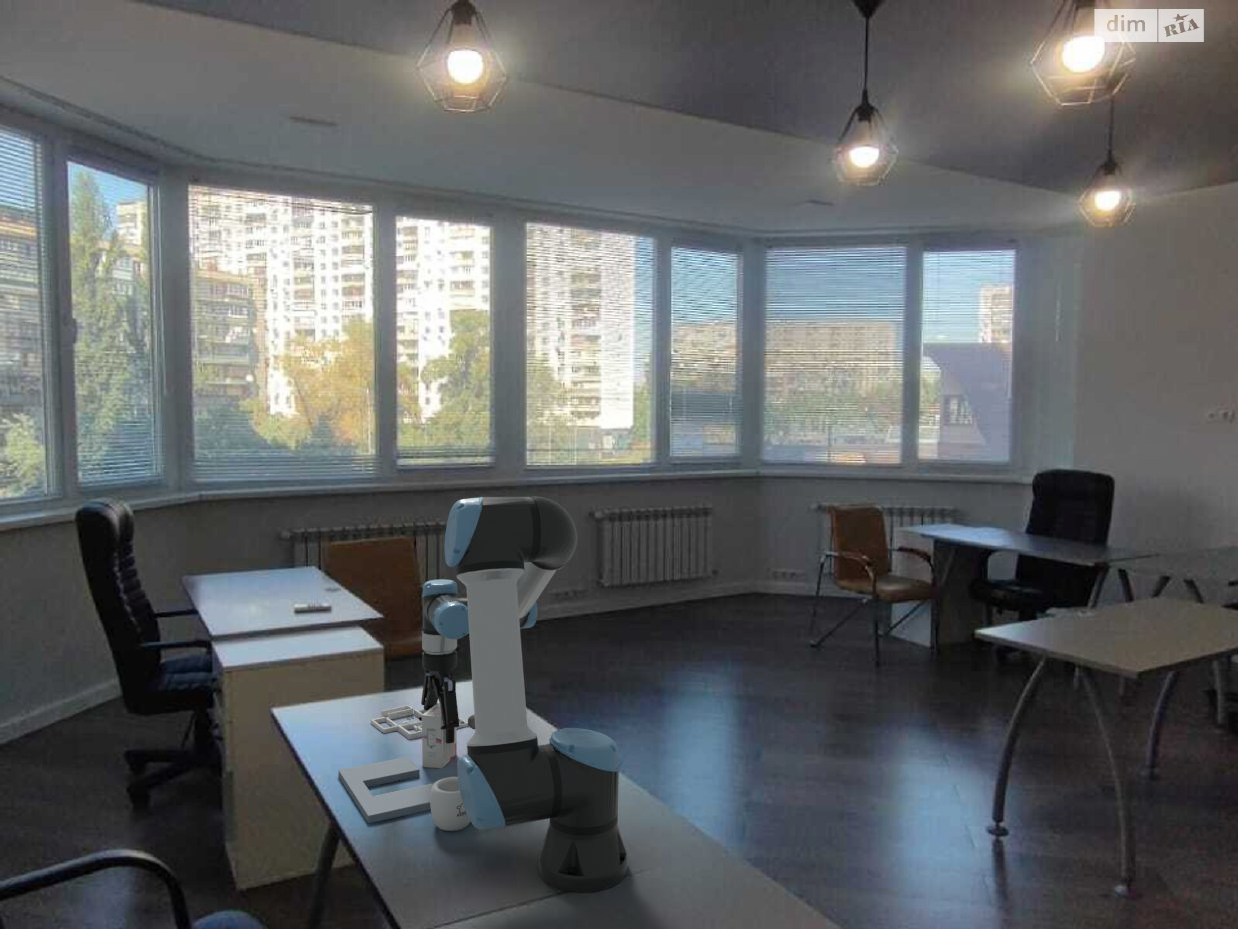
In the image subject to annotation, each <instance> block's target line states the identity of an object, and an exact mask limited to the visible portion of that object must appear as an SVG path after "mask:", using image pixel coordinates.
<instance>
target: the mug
mask: <svg viewBox="0 0 1238 929" xmlns="http://www.w3.org/2000/svg"><path fill="white" fill-rule="evenodd" d="M430 807H431V809H430V812H431V816H432V820H433V823H434V824H435V826H437V828H438V829H440V830H442V831H447V832H453V831H454V832H455V831H459V830H460V831H461V830H462V829H464V828H467V827H468V826H469V824H470V823H471V821H470V820H469V818H468V816H467V813H466V811H465V808H464V805H463V801H462V797H461V793H460V788H459V782H458V776H449V777H444V778H441V779H438V780H437V781H435V782H434V783H433V787H432V789H431V795H430Z"/></svg>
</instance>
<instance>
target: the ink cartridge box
mask: <svg viewBox="0 0 1238 929" xmlns="http://www.w3.org/2000/svg"><path fill="white" fill-rule="evenodd" d="M440 707H441V703H439V702H437V704H435V705H434V706H433V707H432V708H430V709H429V710H428V711H427V712H424V713H422V714H423V715H422V720H421V721H422V737H421V740H422V741H421V742H422V743H421V746H422V749H421V751H422V752H421V753H422V760H421V761H422V762H421V764H422V768H430V769H431V768H432V769H443V768H444V767H445V766H447V764H448V763H449V762H450V761H451V760H452V759H454V757H455V756H456V755H457V754H458V752H457V751H458V750H457V742H458V741H457V739H458V738H457V730H458V729H457V727H455V756H451V757H446V758H442V730H441V727H442V726H444V725H443V720H442V714H441V709H440Z"/></svg>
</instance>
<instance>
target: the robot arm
mask: <svg viewBox="0 0 1238 929" xmlns="http://www.w3.org/2000/svg"><path fill="white" fill-rule="evenodd" d="M577 544H578V533H577V527H576V525H575V522H574V520H573V518H572V517H571V516H570V514H569V512H568V511H567V510H566V509H565V508H564V507H563V506H561V505H560V504H559V503H557V501H554V500H552V499H549V498H547V497H543V496H538V495H537V496H478V497H471V498H463V499H459V500H457V501H456V502H455V503H454V504H453V505H452V507H451V509H450V512H449V514H448V517H447V523H446V529H445V535H444V556H445V557H444V559H445V564H446V565H447V566H448V567H450V568H452V569H453V568H455V570H456V573H455V574H456V579H457V580H459V582H461V583H462V584H463V585H464V586H465V588H466V597H459V598H458V595H459V592H458V584H457V582H455V581H454V580H452V579H443V578H441V579H431V580H428V581H426V582H424V584H423V587H422V595H421V600H422V631H421V635H422V637H421V639H422V640H421V641H422V642H421V646H422V647H421V649H422V650H423V652H422V658H421V659H422V661H421V662H422V665H421V666H422V668H423V669H424V678H423V685H422V694H421V702H420V703H421V706H423V710H426V711H425V712H427V711H428V710H429V709H430V708H432V707H433V706H434V705H435V704H437V703H441V707H440V709H441V714H442V720H443V725H444V726H442V727H441V730H442V758H446V757H451V756H454V757H455V756H456V755H455V727H459V725H460V723H459V718H460V716H459V711H458V710H459V709H458V701H457V690H456V689H457V682H456V679H453V680H452V677H451V676H450V674H451V673H450V672H451V671H452V670H454V669H455V668H456V667H457V666H458V652H457V650H456V649H457V648H458V640H459V639H462V638H464V637H466V636H467V635H469V636H468V638H469V650H470V665H471V667H470V668H471V682H472V698H473V699H472V700H473V713H474V714H473V715H474V716H475V729H474V733H473V735H472V736H471V737H470V739H469V740H468V741H467V742H466V750H467V751H466V752H467V753H466V754H463V755H462V756H461V757H459V758H458V760H457V777H458V782H459V788H460V793H461V797H462V801H463V805H464V808H465V811H466V813H467V816H468V818H469V820H470V821H471V822H470V823H471V824H472V826H474V827H475V828H477V829H478V830H489V829H505V828H506V827H509V826H515V825H521V824H526V823H533V822H536V821H537V822H538V821H543V820H548V819H549V826H548V828H547V830H546V833H545V837H544V840H543V842H542V845H541V846H542V847H541V849H540V852H539V853H538V854H539V855H538V873H539V876H540V877H541V878H542V880H544V882H546V883H547V884H548V885H550V886H552V887H553V888H556V889H560V890H562V891H563V890H564V891H568V892H573V893H591V892H597V891H602V890H606V889H609V888H611V887H613V886H616V885H617V884H619V883H620V882H621V881H622V880H623V879H624V878H625V876H627V873H628V853H627V850H626V847H625V843H624V839H623V837H622V833H621V830H620V827H619V822H618V820H619V819H618V818H619V779H620V778H619V777H620V774H619V773H620V769H621V766H620V764H619V762H620V761H619V747H618V745H617V743H616V742H615V741H614V740H613V739H612V738H611V737H610V736H608V735H606V734H604V733H602V732H599V731H595V730H591V729H586V728H580V727H579V728H578V727H577V728H576V727H567V728H565V727H564V728H560V729H557V730H555V731H553V732H552V733H551V735H550V737H549V739H548V740H549V743H547V744H541V745H540V744H539V742H538V741H539V739H538V738H539V737H538V734H537V733H536V732H534V730H532V729H531V728H530V726H529V725H528V718H527V717H528V716H527V715H528V713H527V705H526V692H525V689H526V688H525V678H524V677H525V676H524V665H523V664H524V663H523V662H524V661H523V652H522V651H523V650H522V638H521V630H522V629H528V628H532V627H534V626H535V624H536V623H537V617H538V605H537V604H538V603H537V600H538V599H539V597H540V596H541V594H542V593H543V591H544V590H545V588H546V587H547V585H548V584H549V582H550V580H551V579H552V578H553V576H554V575H555V573H556V571H557V570H560V569H562V568H564V567H565V566H566V565H567V564H568V563H569V562H570V560H571V558H572V557H573V555H574V553H575V551H576V549H577ZM425 712H424V713H425Z"/></svg>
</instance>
